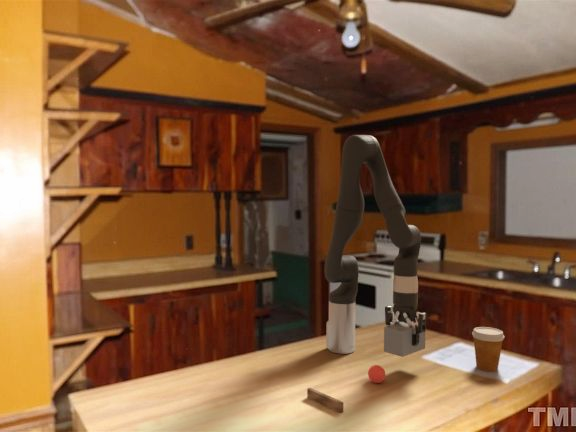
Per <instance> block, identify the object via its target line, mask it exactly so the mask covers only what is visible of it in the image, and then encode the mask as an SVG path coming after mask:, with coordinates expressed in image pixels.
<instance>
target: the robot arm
mask: <svg viewBox="0 0 576 432" xmlns="http://www.w3.org/2000/svg"><path fill="white" fill-rule="evenodd" d="M363 164H364V165H365V166H366V168H367V169H368V171H369V172H370V175H371V178H372V183H373V195H374V199H375V202H376V205H377V207H378V209H379V210H380V213H381V215H382V217H383V219H384V221H385V222H384V223H385V226H386V229H387V233H388V236H389V237H388V238H389V239H390V242H391V243H392V244H393V245H394V246H395V248H398V254H397V256H396V257H394V261H393V262H394V263H393V280H392V304H393V305H386V306H384V321H385V322H384V323H385V325H386V326H389V325H393V324H394V325H395V324H396V323H398V324H399V323H400V322H404V323H407V324H408V326H409V327H410V328H411V329H412V332H413V334H412V346H417V345H418V344H419V334H420V333H423V332H425V333H426V330H427V317H428V316H427V313H426V312H420V311H419V310H418V304H419V302H418V301H419V280H418V259H419V255H420V251H421V244H422V235H421V231H420V229H419V227H417V226H415V225H413V224H408V222H407V220H406V218H405V215H406V213H407V212H406V208H405V206H404V205H403V202H402V200H401V198H400V196H399V194H398V193H397V189H396V188H395V186H394V184H393V181H392V179H391V176H390V174H389V170H388V167H387V164H386V161H385V157H384V154H383V152H382V147H381V146H380V143H379V141H378V140H377V138H376V137H374V136H373V135H369V134H353V135H350V136H348V137H347V138H346V139H345V141H344V144H343V146H342V154H341V168H340V169H341V170H340V182H339V187H338V188H339V189H338V195H337V201H336V208H335V212H334V218H333V219H334V221H333V227H332V232H331V237H330V243H329V245H328V250H327V253H326V258H325V262H324V269H323V270H324V277H325V279H326V280H327V282H328V283H332V284H339V283H340V284H339V286H338V287H337V288H336V289H334V290H332V291H331V292H329V295H328V320H327V321H326V331H325V332H326V336H325V338H326V341H325V343H326V346H325V348H326V349H328V350H329V352H331V353H334V354H340V355H341V354H342V355H345V354H352V353H354V352H355V349H356V348H355V347H356V297H357V294H358V290H359V289H358V287H359V285H358V283H359V264H358V263H359V262H358V260H357V259H356V257H355V255H354V256H353V255H350V254H349V255H348V254H345V255H344V252H345V248H346V246H347V244H348V243H349V242H350V240H351V239H352V237H353V236H354V235H355V234H356V232H358V230H359V228H360V226H361V224H362V223H363V222H362V221H363V218H364V217H363V216H364V213H365V198H364V193H363V191H362V187H361V173H362V169H363V168H362V167H363ZM412 322H413V323H412ZM415 328H416V329H415Z"/></svg>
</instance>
